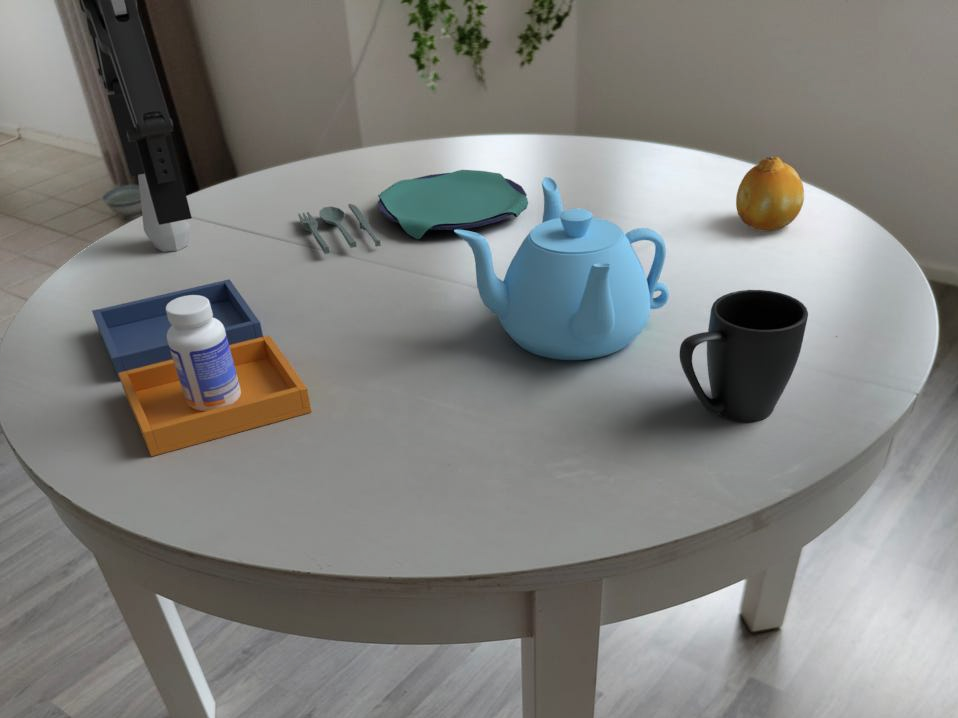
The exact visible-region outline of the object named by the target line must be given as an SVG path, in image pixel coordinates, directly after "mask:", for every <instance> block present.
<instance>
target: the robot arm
mask: <svg viewBox="0 0 958 718" xmlns="http://www.w3.org/2000/svg"><path fill="white" fill-rule="evenodd" d="M77 2H78V4H79V7H80V10H81V11H82V14H83V19H84V22H85V25H86V27H87V30H88V33H89V37H90V41H91V43H92V48H93V51H94V56H95V61H96V64H97V65H96V66H97V73H98V76H99V77H100V78H101V80H102V84H103V87H104V89H105V90H106V92H107V93H112V94H108V95H107V98H108V103H109V106H110V110H111V113H112V116H113V120H114V123H115V127H116V130H117V131H116V132H117V134H118V137H119V141H120V143H121V147H122V151H123V155H124V158H125V162H126V165H127V169H128V172H129V175H130V177H134V176H138V175H140V174H145V177H146V181H147V184H148V188H149V192H150V195H151V199H152V203H153V206H154V210H155V214H156V217H157V221H158V223H159V225H161V224H166V223H172V222H177V221H182V220H187V219H189V220H191V219H192V214H191V209H190V206H189V201H188V198H187V193H186V189H185V185H184V181H183V176H182V172H181V169H180V165H179V161H178V157H177V153H176V149H175V145H174V141H173V137H172V133H173V132H174V122H173V119H172V118H171V117H170V113H169V109H168V107H167V103H166V100H165V97H164V93H163V90H162V86H161V84H160V79H159V77H158V74H157V73H158V72H157V71H156V67H155V64H154V60H153V57H152V54H151V50H150V47H149V44H148V41H147V38H146V33H145V29H144V27H143V24H142V21H141V17H140V13H139V9H138V0H77Z"/></svg>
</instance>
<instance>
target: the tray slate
mask: <svg viewBox="0 0 958 718" xmlns="http://www.w3.org/2000/svg"><path fill="white" fill-rule="evenodd" d="M188 295H200V296H204V297H206V298H207V299H208V300H209V302H210V306H211V309H212V313H213V318H216V319H217V320H219V321H220V322H221V323H222V324H223V326H224V328H225V332H226V335H227V339H228V343H229V345H232V344H236V343H240V342H244V341H248V340H252V339H256V338H260V337H264V334H263V329H262V323H261V321H260V320H259V318H258V317H257V316H256V314H255V312H254V311H253V310H252V309H251V307H250V306H249V304H248V303H247V302H246V300H245V299H244V297H243V296H242V295H241V293H240V292H239V290H238V289H237V287H236V286H235V285H234V283H233V282H232V281H231V279H230V278H229V279H224V280H219V281H216V282H212V283H207V284H204V285H203V284H202V285H199V286H198V285H197V286H195V287H189V288H186V289H181V290H177V291H173V292H168V293H164V294H158V295H155V296H150V297H147V298H142V299H138V300H133V301H128V302H125V303H120V304H115V305H111V306H107V307H102V308H98V309H92V310H91V312H92V315H93V318H94V321H95V324H96V327H97V329H98V333H99V335H100V337H101V340H102V342H103V345H104V347H105V349H106V353H107V355H108V356H109V359H110V361H111V363H112V367H113V369H114V372H115V373H116V376H117V378H118V381H119V382H121V380H120V377H119V375H118V373H120V372H124V371H128V370H132V369H136V368H140V367H144V366H148V365H152V364H156V363H160V362H164V361H168V360H172V359H173V358H172V355H171V351H170V348H169V345H168V341H167V332H168V330H169V328H170V327H171V326H172V325H171V324H170V322H169V321H168V317H167V313H166V305H167V304H168V303H169V302H170V301H172V300H174V299H176V298H179V297H182V296H188Z"/></svg>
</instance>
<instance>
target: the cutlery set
mask: <svg viewBox="0 0 958 718" xmlns="http://www.w3.org/2000/svg"><path fill="white" fill-rule="evenodd" d="M377 197H378V198H379V200H378V201H377V204H378V208H379V211H380V214H382V215H383V216H384V217H385V218H387V219H388V220H390V221H391V222H393V223H397V224H399V225H400V226H401V227H402V229H403V230H404V232H406V233H407V234H408V235H409V236H411V237H413V238H414V239H416V240H420V239H421V238H422V237H423V236H424V235H425V233H426V232H428V230H434V231H435V230H437V231H438V230H442V231H443V230H446V231H447V230H451V231H454V230H464V229H471V228H478V227H481V226H486V225H489V224H493V223H497V222H499V221H502V220H504V219H506V218H508V217H511V216H513V217H515V218H518V217H519V216H520V214H521V213H523V212H524V211H525V210H526V209H527V208H528V206H529V200H528V198H527V192H526V191H525V189H524V188H523V186H522V185H520V184H519V183H517V182H516V181H513V180H512V179H510V178H506V177H504V176H503V175H502V173H500V172H492V171H488V170H487V171H486V170H478V169H477V170H476V169H475V170H474V169H458V170H455V171H452V172H444V173H435V174H428V175H423V176H419V177H414V178H409V179H402V180H399V181H396V182H394V183H393V184H391V185H390V186H388V187H387V188H386V189H384V190H382V191H381V192H380V193H379V194H377ZM347 205H348V208H349V209H350V210H351V212H352V214H353V215H354V216H355V218H356V219H357V221H358V222H359V229H360V230H363V231H366V232H367V233H368V235H369V236H370V237H371V238H372V240H373V242H374V246H375V247H381V244H382V243H381V240H380V239H378V238H377V237H376V235H375V234H374V232H373V230H372V229H371V225H370V222H369V219H368V218H365V216H364V214H363V213H362V211H361V210H360V209H359V207H358V206H357V205H355V204H352V203H348V204H347ZM297 216H298V218H299V221H300V224H301V226H302V228H303V230H306V231H307V232H311V233H312V235H313V238H314V240H315V241H316V242H317V244H318V246H319V247H320V249H321V250H322V252H323V253H324V254H325V255H326V254H330V247H329V245H328V244H327V242H326V240H325V239H324V238H323V237H322V236H321V234H320V232H319V231H318V229H317V228H318V227H319V222H318V220H316V218H315V217H313V216H312V215H311V213H310V212H309V211H306V214H305V212H302V214H300V213H299V212H298V213H297ZM319 217H320V220H322V222H325V223H326V224H329V225H334V226H336V227H337V229H338V230H339V231H340V233H341V234H342V236H343V238H344V239H345V241H346V243H347V244H348V246H349V248H350V249H352V248H357V241H356V240H355V238H353V236H352V235H351V234H350V233H349V231H348V230H347V229H346V228H345V227H344V226H343V225H342V224H341V223H342V222H343V221H344V220H345V217H346V216H345V211H344V210H342V209H341V208H339V207H335V206H324V207H322V208H321V209H320V210H319Z"/></svg>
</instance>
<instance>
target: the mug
mask: <svg viewBox="0 0 958 718" xmlns="http://www.w3.org/2000/svg"><path fill="white" fill-rule="evenodd" d="M808 317H809V311H808V308H807V307H806V306H805V305H804V303H803V302H801V301H800V300H798V298H795V297H792V296H790V295H788V294H785V293H782V292H777V291H772V290H764V289H745V290H744V289H743V290H737V291H732V292H729V293H726V294H724V295H721V296H720V297H719V298H717V299H716V300H714V302H713V303H712V306H711V308H710V314H709V322H708V329H707V331H704V332H699V333H695V334H692V335H689V336H687V337H686V338H684V339H683V341H682V342H681V344H680V347H679V363H680V365H681V368H682V371H683V373H684V375H685V377H686V379H687V381H688V383H689V385H690V387H691V388H692V390H693V392H694V394H695V396H696V398H697V400H698V401H699V403H700V404H701V406H702V407H703V408H704V409H705V411H706V412H708V413H709V414H712V415H720V416H721V417H723V418H725V419H727V420H731V421H734V422H741V423H752V422H758V421H762V420H764V419H766V418H768V417H769V416H770V415H772V413H773V412H774V410H775V407H776V405H777V404H778V402H779V400H780V398H781V396H782V395H783V394H784V391H785V389H786V387H787V386H788V383H789V381H790V379H791V377H792V375H793V373H794V370H795V368H796V366H797V363H798V360H799V357H800V354H801V350H802V346H803V342H804V336H805V331H806V327H807V324H808V323H807V322H808V319H809V318H808ZM702 343H706V362H707V363H706V365H707V374H708V375H707V376H708V381H709V388H710V392H711V393H710V394H711V397H710V396H708V395H707V394H706V393H705V391H704V389H703V387H702V385H701V383H700V382H699V380H698V376H697V375H696V372H695V368H694V365H693V364H694V363H693V354H694V352H695V349H696V347H698V346H699V345H701V344H702Z"/></svg>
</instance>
